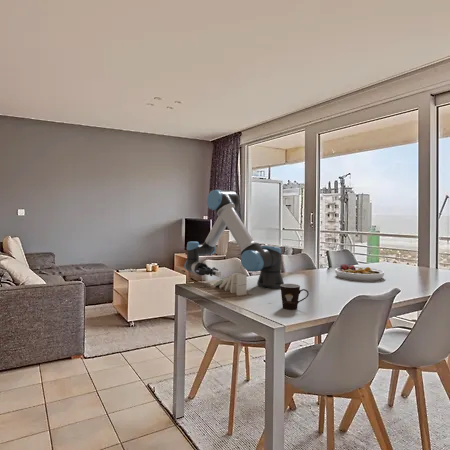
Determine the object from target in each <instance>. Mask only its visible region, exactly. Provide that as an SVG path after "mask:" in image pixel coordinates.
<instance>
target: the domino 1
mask: <svg viewBox="0 0 450 450" xmlns="http://www.w3.org/2000/svg"><path fill="white" fill-rule="evenodd" d="M225 279H226V278H222V279H221V280H219V281H217V282H215V283H213V285H214V287H219V286H220V285H221V284H222V283H223V282H224V280H225Z"/></svg>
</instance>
